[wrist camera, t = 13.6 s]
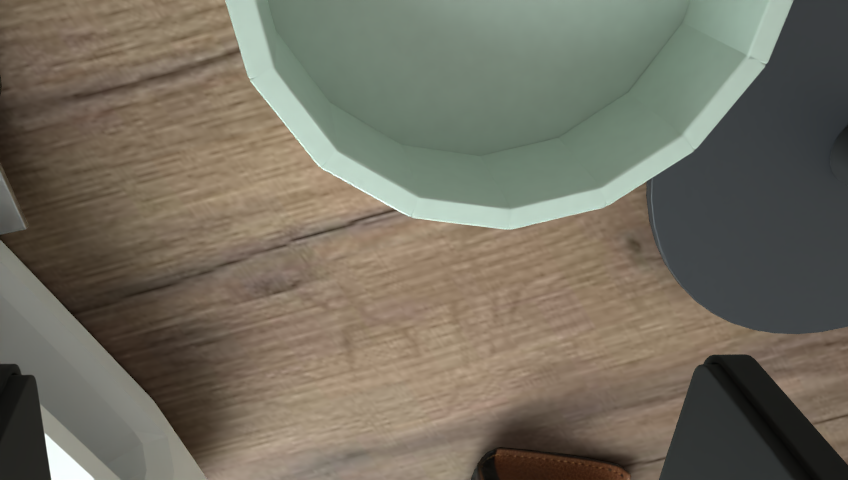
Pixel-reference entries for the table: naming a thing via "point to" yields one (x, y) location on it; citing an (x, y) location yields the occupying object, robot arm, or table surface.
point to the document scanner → (83, 391)
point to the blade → (9, 206)
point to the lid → (769, 189)
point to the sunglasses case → (544, 467)
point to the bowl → (502, 94)
